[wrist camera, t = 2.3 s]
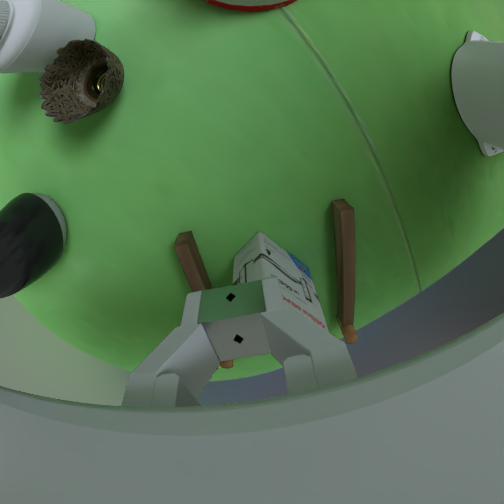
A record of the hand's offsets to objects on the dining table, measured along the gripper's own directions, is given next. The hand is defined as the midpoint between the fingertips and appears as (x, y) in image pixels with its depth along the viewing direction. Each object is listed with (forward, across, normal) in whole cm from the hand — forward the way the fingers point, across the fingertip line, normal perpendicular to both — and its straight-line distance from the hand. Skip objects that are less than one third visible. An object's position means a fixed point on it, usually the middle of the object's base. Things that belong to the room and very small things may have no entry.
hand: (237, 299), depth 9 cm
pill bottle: (+21, +15, -21) cm, 33 cm away
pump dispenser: (+21, +26, -1) cm, 33 cm away
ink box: (+21, -2, +12) cm, 24 cm away
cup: (+21, +11, -13) cm, 27 cm away
